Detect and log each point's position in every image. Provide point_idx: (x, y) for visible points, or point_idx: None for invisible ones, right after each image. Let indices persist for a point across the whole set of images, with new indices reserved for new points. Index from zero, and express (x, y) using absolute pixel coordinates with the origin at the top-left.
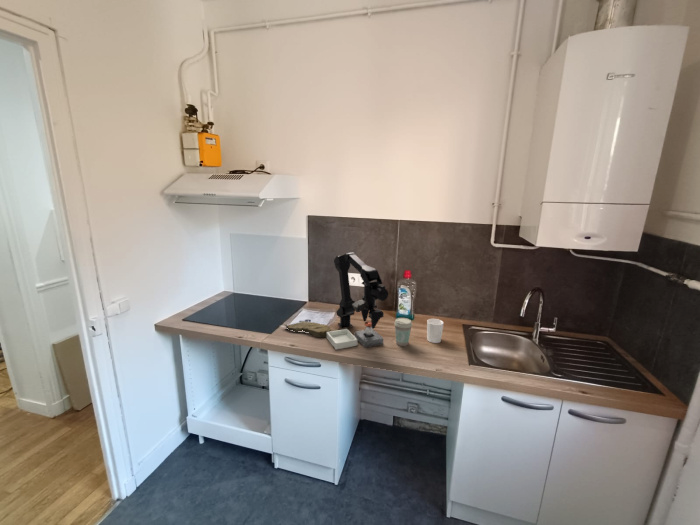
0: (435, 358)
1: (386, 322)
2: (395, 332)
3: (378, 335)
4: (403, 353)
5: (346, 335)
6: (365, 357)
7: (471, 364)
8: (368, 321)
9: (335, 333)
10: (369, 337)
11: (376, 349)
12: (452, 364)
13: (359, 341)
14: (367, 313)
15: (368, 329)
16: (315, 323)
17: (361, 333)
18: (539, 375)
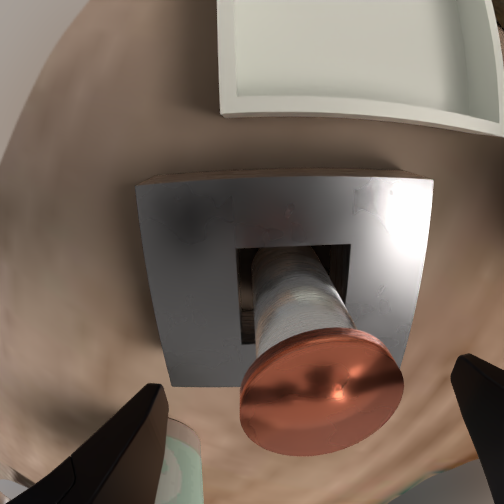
0: (27, 443)
1: (440, 439)
2: (161, 480)
3: (241, 375)
4: (48, 384)
5: (442, 103)
6: (17, 129)
7: (16, 473)
8: (389, 416)
9: (472, 16)
10: (229, 281)
11: (103, 264)
12: (3, 447)
13: (287, 168)
14: (495, 478)
15: (265, 331)
16: None
17: (363, 234)
18: (8, 498)
